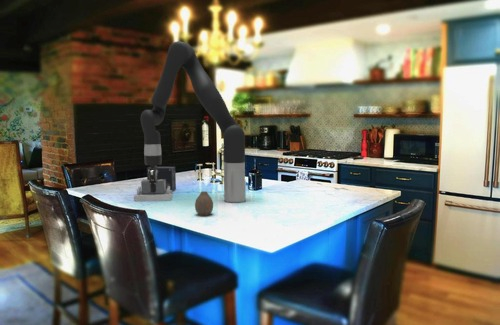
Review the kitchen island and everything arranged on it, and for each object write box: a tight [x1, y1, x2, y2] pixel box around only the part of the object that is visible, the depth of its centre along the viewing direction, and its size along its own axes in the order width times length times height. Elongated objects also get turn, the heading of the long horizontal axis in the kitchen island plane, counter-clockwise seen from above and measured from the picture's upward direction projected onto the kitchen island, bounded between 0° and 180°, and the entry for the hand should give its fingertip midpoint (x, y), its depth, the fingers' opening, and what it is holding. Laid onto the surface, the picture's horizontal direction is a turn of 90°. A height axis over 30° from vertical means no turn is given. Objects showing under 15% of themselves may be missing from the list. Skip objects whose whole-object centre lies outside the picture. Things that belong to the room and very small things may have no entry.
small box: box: [146, 166, 177, 192], centre depth 202 cm, size 13×7×12 cm, turn 84°
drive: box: [140, 179, 166, 195], centre depth 182 cm, size 10×6×6 cm, turn 94°
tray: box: [133, 186, 173, 202], centre depth 183 cm, size 16×11×5 cm
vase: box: [194, 191, 214, 217], centre depth 152 cm, size 7×7×9 cm
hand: (153, 190), depth 183 cm, fingers closed on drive, 5 cm apart
